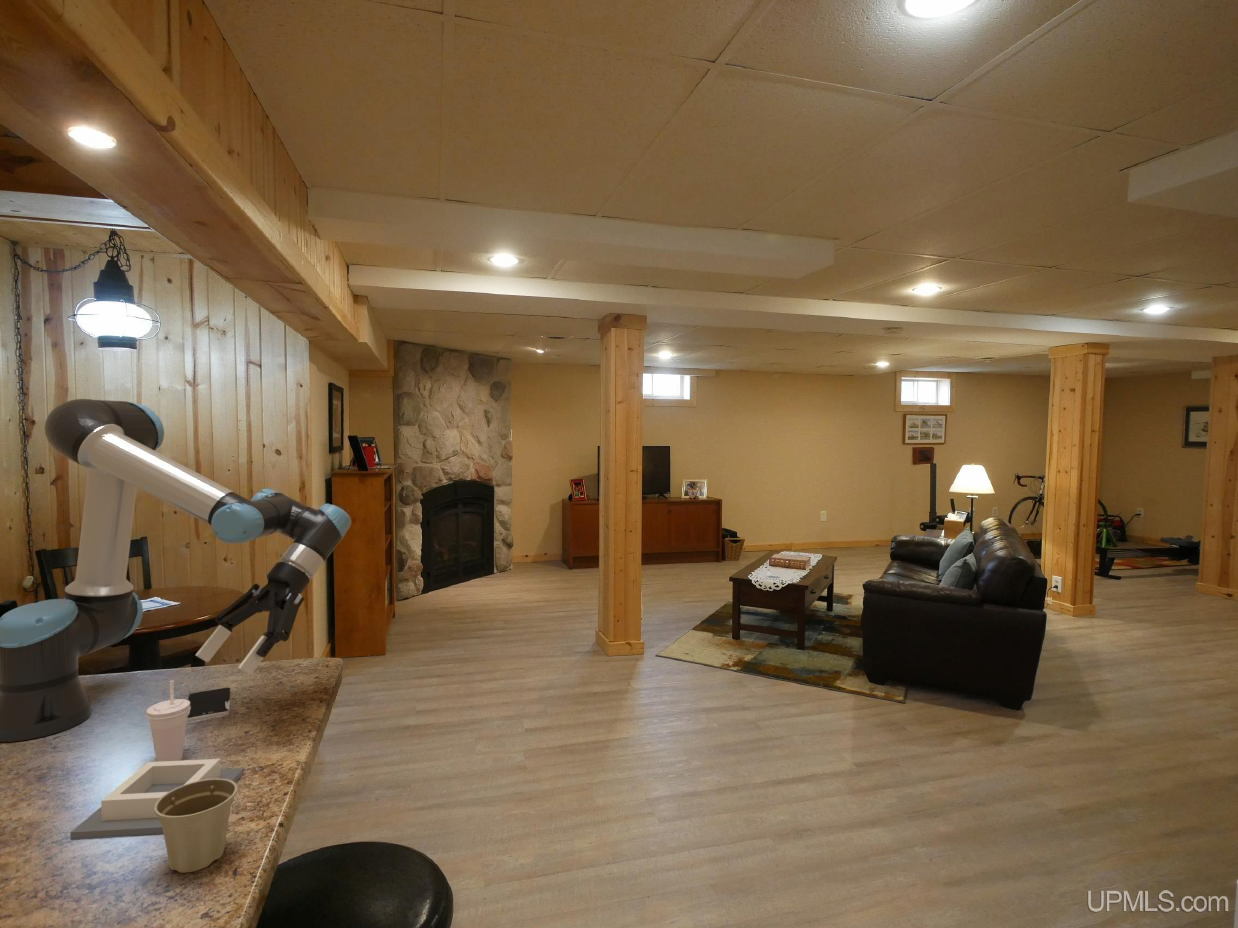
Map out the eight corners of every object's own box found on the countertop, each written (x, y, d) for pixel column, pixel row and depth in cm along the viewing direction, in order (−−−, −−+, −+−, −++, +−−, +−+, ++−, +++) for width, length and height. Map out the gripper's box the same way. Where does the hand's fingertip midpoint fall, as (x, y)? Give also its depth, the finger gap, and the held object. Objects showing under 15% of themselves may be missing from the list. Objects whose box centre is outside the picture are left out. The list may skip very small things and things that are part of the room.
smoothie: (198, 757, 113) (197, 679, 112) (157, 773, 107) (155, 692, 107) (181, 747, 116) (179, 672, 115) (140, 762, 111) (138, 683, 110)
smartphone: (230, 686, 142) (229, 711, 129) (230, 692, 142) (229, 717, 129) (189, 693, 138) (184, 719, 126) (189, 699, 138) (184, 726, 126)
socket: (142, 778, 106) (141, 754, 105) (243, 773, 107) (243, 750, 107) (70, 839, 90) (69, 811, 90) (191, 832, 92) (190, 805, 91)
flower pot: (223, 827, 93) (222, 770, 92) (249, 855, 87) (248, 793, 86) (145, 860, 85) (144, 798, 85) (168, 893, 79) (166, 826, 79)
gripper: (346, 587, 128) (278, 686, 115) (269, 574, 139) (199, 662, 127) (323, 566, 123) (248, 667, 110) (245, 554, 134) (169, 644, 122)
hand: (222, 665), depth 118 cm, fingers open, 13 cm apart
